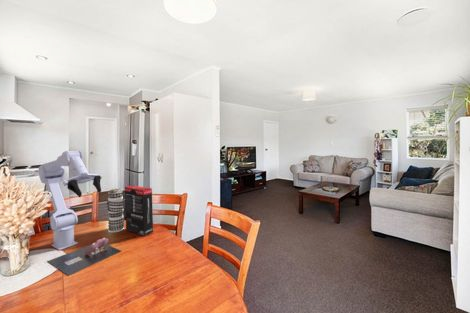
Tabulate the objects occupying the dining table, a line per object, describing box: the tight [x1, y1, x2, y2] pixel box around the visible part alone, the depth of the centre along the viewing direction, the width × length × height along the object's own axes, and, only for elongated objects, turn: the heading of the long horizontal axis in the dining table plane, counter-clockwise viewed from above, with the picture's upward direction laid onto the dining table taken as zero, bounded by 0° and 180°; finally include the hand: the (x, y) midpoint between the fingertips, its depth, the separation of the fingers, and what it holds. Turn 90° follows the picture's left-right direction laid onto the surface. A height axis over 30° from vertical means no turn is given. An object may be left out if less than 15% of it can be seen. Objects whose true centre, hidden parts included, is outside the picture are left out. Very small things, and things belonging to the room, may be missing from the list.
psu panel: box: [47, 243, 122, 276], centre depth 98 cm, size 20×22×1 cm
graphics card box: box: [124, 184, 154, 237], centre depth 124 cm, size 17×7×27 cm, turn 63°
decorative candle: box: [106, 188, 125, 234], centre depth 127 cm, size 9×9×25 cm
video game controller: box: [85, 237, 110, 255], centre depth 102 cm, size 10×5×7 cm, turn 168°
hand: (90, 193), depth 92 cm, fingers open, 7 cm apart
